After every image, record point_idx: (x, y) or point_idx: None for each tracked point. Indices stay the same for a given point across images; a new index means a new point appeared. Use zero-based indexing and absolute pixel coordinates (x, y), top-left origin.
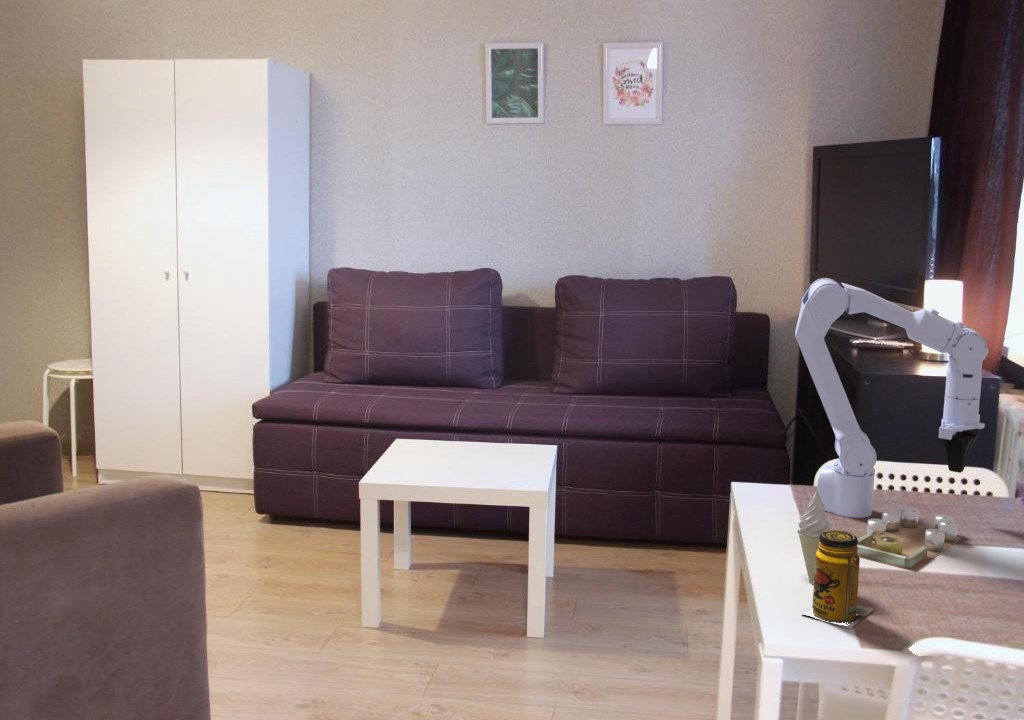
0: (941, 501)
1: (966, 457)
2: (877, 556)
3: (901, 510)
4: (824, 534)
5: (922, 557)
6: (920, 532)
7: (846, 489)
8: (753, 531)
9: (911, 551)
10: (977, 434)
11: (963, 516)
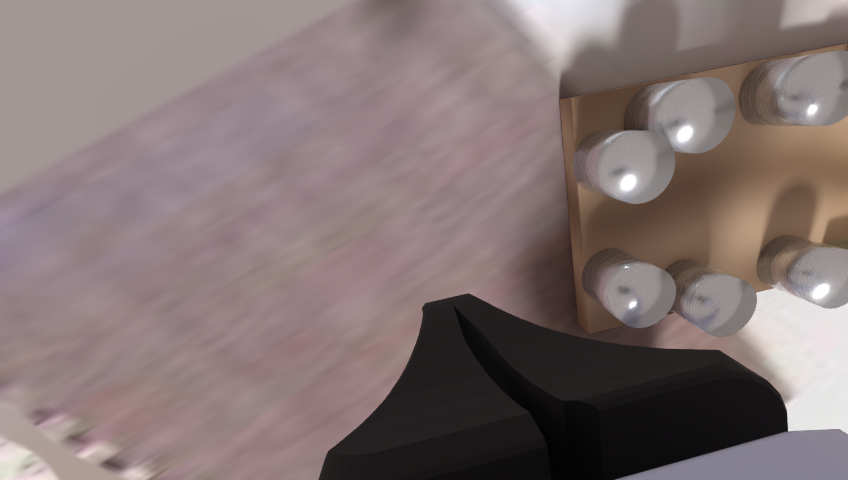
0: (204, 399)
1: (457, 332)
2: None
3: (663, 312)
4: None
5: None
6: (644, 214)
7: None
8: None
9: (826, 127)
10: (453, 459)
11: (291, 262)
